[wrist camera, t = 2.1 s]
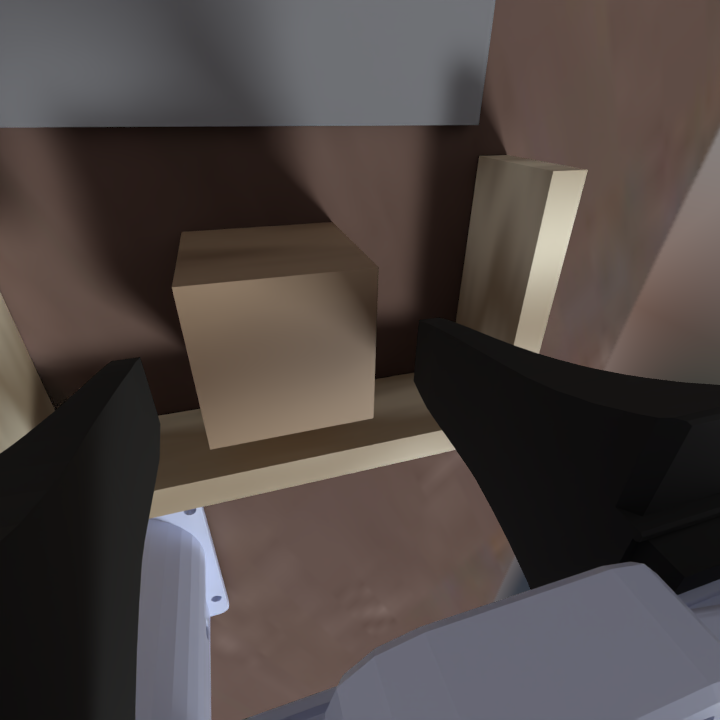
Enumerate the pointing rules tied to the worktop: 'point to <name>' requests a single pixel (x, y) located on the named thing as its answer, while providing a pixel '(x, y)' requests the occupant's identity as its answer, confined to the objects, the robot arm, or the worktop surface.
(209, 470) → the beige angled piece
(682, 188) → the worktop surface
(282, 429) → the wooden cube
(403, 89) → the rubber mat
